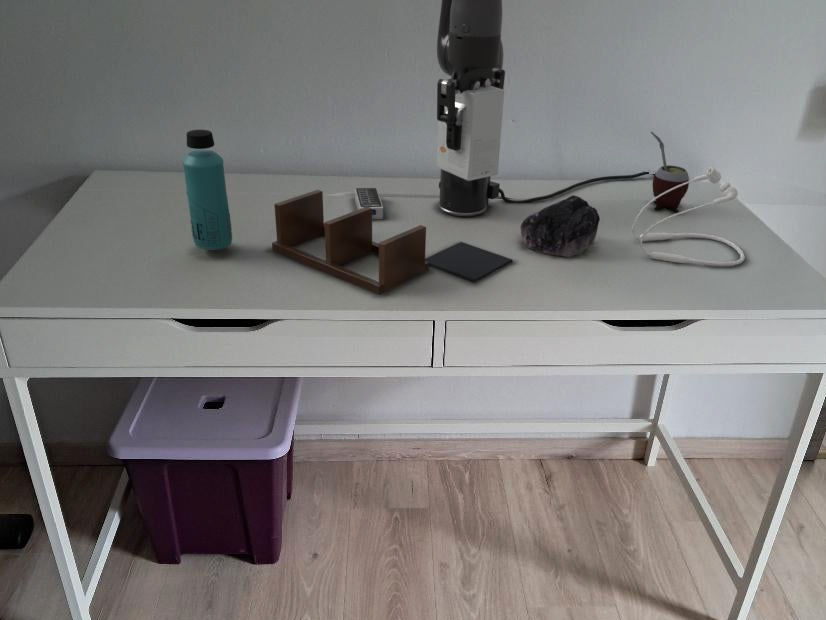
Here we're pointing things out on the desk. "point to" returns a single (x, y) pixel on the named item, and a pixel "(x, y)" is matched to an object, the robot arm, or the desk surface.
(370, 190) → the multiport hub
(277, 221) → the rack
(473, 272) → the mat
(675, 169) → the mate gourd
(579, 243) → the crystal cluster
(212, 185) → the beverage bottle
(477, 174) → the small box
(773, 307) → the desk surface
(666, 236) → the earphone
